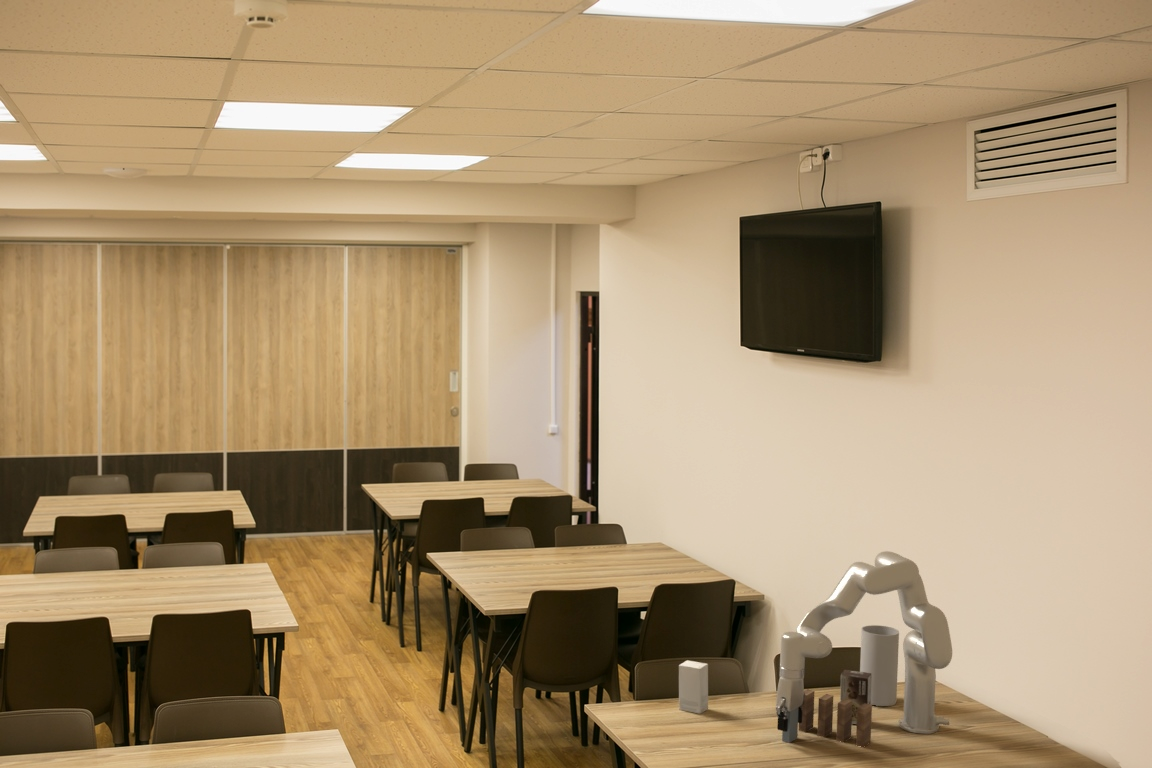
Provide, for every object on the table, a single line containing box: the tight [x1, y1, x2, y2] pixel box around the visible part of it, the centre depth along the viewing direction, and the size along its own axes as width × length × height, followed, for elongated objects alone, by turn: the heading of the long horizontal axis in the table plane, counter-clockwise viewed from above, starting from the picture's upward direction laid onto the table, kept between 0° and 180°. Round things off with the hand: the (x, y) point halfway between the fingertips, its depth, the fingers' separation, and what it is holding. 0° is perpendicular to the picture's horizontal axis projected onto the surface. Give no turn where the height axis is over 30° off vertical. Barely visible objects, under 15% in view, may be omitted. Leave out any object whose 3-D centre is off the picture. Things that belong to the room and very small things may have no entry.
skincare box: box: [678, 659, 709, 715], centre depth 373 cm, size 8×7×16 cm
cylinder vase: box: [859, 624, 900, 707], centre depth 385 cm, size 12×12×25 cm
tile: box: [781, 707, 799, 744], centre depth 348 cm, size 2×6×12 cm, turn 142°
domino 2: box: [816, 693, 834, 738], centre depth 354 cm, size 2×6×12 cm, turn 142°
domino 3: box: [835, 699, 853, 743], centre depth 350 cm, size 2×6×12 cm, turn 142°
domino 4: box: [855, 703, 873, 748], centre depth 346 cm, size 2×6×12 cm, turn 142°
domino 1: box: [798, 689, 815, 733], centre depth 358 cm, size 2×6×12 cm, turn 142°
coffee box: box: [839, 669, 871, 725], centre depth 365 cm, size 9×6×16 cm
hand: (789, 726), depth 348 cm, fingers open, 9 cm apart
